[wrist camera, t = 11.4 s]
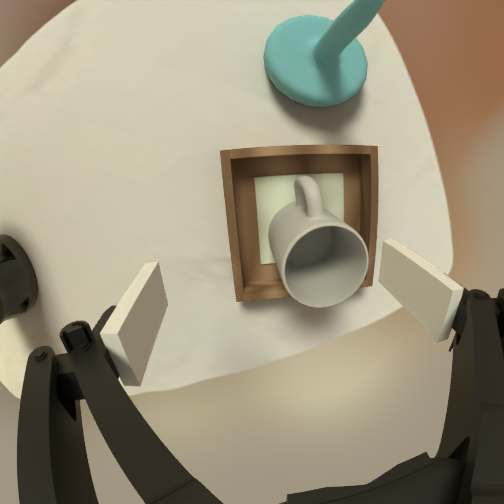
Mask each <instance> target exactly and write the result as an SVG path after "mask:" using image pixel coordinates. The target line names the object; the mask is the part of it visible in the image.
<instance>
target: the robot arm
mask: <svg viewBox="0 0 504 504" xmlns="http://www.w3.org/2000/svg"><path fill="white" fill-rule="evenodd" d="M379 282H380V283H381V284H382V285H383V286H384V287H385V288H386V289H387V290H388V291H389V292H390V293H391V294H392V295H393V296H394V297H395V298H396V299H397V300H398V301H399V302H400V303H401V305H402V306H403V307H404V308H405V309H406V310H407V311H408V312H409V313H410V314H411V315H412V316H413V317H414V318H415V319H416V320H417V321H418V322H419V323H420V325H421V326H422V327H423V328H424V329H425V330H426V331H427V332H428V333H429V334H430V335H431V337H432V338H433V339H434V340H435V341H436V342H437V343H438V342H440V341H443V340H446V339H448V337H449V334H450V332H451V329H452V328H453V329H454V330H455V331H456V333H455V336H454V339H453V341H452V344H451V346H450V349H449V351H451V349H452V348H453V361H452V374H451V384H450V393H449V400H448V406H447V413H446V418H445V424H444V429H443V433H442V438H441V443H440V446H439V450H438V452H437V454H436V456H435V458H430V457H429V456H428V454H427V452H425V453H423V454H421V455H418V456H416V457H414V458H412V459H409V460H407V461H405V462H402V463H400V464H398V465H396V466H395V467H393V468H392V469H391V470H389V471H387V472H386V473H384V474H383V475H381V476H380V477H378V478H377V479H375V480H373V481H372V482H370V483H368V484H365V485H358V486H344V487H325V488H320V489H315V490H310V491H305V492H300V493H294V494H287V501H286V502H283V503H280V504H504V288H503V289H500V290H499V293H498V296H497V298H491V297H490V296H489V295H488V294H487V293H486V292H484V291H482V290H478V289H473V290H470V291H468V290H467V289H465V288H464V287H463V286H461V285H460V284H459V283H457V282H455V281H454V280H453V279H452V278H450V277H449V276H448V275H446V274H445V273H443V272H441V271H440V270H438V269H437V268H435V267H434V266H433V265H431V264H430V263H428V262H427V261H425V260H424V259H422V258H421V257H419V256H418V255H416V254H415V253H413V252H412V251H410V250H409V249H407V248H406V247H404V246H403V245H401V244H400V243H398V242H396V241H395V240H383V247H382V257H381V267H380V275H379ZM36 299H37V282H36V277H35V273H34V270H33V267H32V265H31V263H30V261H29V259H28V257H27V255H26V253H25V252H24V250H23V249H22V247H21V246H20V245H19V244H18V243H17V242H16V241H15V240H14V239H13V238H11V237H9V236H7V235H0V324H1V323H2V322H3V321H5V320H8V319H11V318H14V317H17V316H20V315H22V314H24V313H26V312H27V311H28V310H29V309H30V308H31V307H32V306H33V305H34V304H35V302H36ZM167 306H168V302H167V298H166V294H165V289H164V285H163V281H162V276H161V272H160V267H159V262H150V263H145V265H144V266H143V268H142V269H141V271H140V272H139V273H138V275H137V276H136V278H135V279H134V281H133V282H132V284H131V285H130V287H129V288H128V290H127V291H126V293H125V294H124V296H123V297H122V299H121V300H120V302H119V303H118V305H117V306H111V307H110V308H109V309H107V310H106V311H105V312H104V313H103V315H102V316H101V319H99V321H98V322H97V324H96V325H95V327H94V328H93V330H92V331H91V328H90V326H89V324H88V323H87V322H85V321H75V322H72V323H70V324H68V325H66V326H65V327H64V328H63V329H62V330H61V332H60V338H61V340H62V342H63V344H64V346H65V348H66V350H67V352H68V353H65V354H59V355H55V353H54V351H53V349H52V348H51V347H49V346H42V347H38V348H36V349H35V350H33V352H32V353H31V354H30V355H29V357H28V361H27V366H26V371H25V376H24V382H23V388H22V395H21V402H20V412H19V421H18V437H17V477H18V491H19V501H20V504H98V500H97V497H96V493H95V489H94V486H93V482H92V477H91V473H90V468H89V463H88V458H87V453H86V448H85V442H84V435H83V427H82V418H81V409H80V400H82V399H85V400H86V402H87V404H88V406H89V409H90V411H91V413H92V415H93V417H94V419H95V421H96V424H97V425H98V427H99V430H100V431H101V433H102V435H103V437H104V439H105V441H106V443H107V445H108V446H109V448H110V450H111V452H112V454H113V455H114V457H115V459H116V460H117V462H118V463H119V465H120V467H121V468H122V470H123V472H124V473H125V475H126V476H127V478H128V479H129V481H130V482H131V484H132V485H133V487H134V488H135V489H136V491H137V492H138V494H139V495H140V496H141V498H142V499H143V500H144V502H145V504H223V503H222V502H221V501H220V500H219V499H218V498H216V497H215V496H214V495H213V494H212V493H211V492H210V491H209V490H208V489H207V488H206V487H205V486H204V485H203V484H202V483H201V482H199V481H198V480H197V479H195V478H194V477H193V476H192V475H191V474H190V473H189V472H188V471H187V470H186V469H185V468H184V467H183V466H182V465H181V463H179V461H178V460H177V459H176V458H175V457H174V456H173V455H172V453H171V452H170V451H169V450H168V448H167V447H166V446H165V445H164V444H163V443H162V441H161V440H160V439H159V437H158V436H157V435H156V434H155V432H154V431H153V430H152V429H151V427H150V426H149V425H148V423H147V422H146V421H145V419H144V418H143V417H142V415H141V414H140V412H139V411H138V410H137V408H136V407H135V405H134V404H133V402H132V401H131V399H130V398H129V396H128V395H127V393H126V392H125V390H124V389H123V387H122V385H121V384H120V382H119V381H118V378H119V376H120V378H121V380H122V382H123V384H124V385H125V386H141V383H142V380H143V376H144V373H145V370H146V367H147V364H148V361H149V358H150V355H151V352H152V349H153V346H154V343H155V340H156V337H157V334H158V331H159V328H160V325H161V323H162V320H163V317H164V314H165V311H166V309H167Z"/></svg>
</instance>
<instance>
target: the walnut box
mask: <svg viewBox="0 0 504 504" xmlns="http://www.w3.org/2000/svg"><path fill="white" fill-rule="evenodd" d="M220 156H221V166H222V177H223V187H224V197H225V206H226V216H227V225H228V234H229V243H230V252H231V261H232V269H233V277H234V286H235V294H236V302H241V301H252V300H263V299H273V298H282V297H291V295H290V294H289V293H288V292H287V290H286V288H285V287H284V284H283V282H282V279H281V276H280V273H279V270H278V267H277V264H276V261H275V258H274V255H273V252H272V250H271V247H270V244H269V238H268V231H269V226H270V223H271V221H272V219H273V217H274V216H275V214H276V213H277V212H278V211H279V210H280V209H281V208H282V207H284V206H285V205H287V204H289V203H291V202H295V201H296V198H295V190H294V182H295V180H296V178H298V177H300V176H309V177H311V178H312V179H314V180H315V181H316V183H317V184H318V186H319V189H320V192H321V196H322V202H323V207H324V208H325V209H327V210H328V211H329V212H331V213H332V214H333V215H335V216H336V217H338V218H339V219H340V220H342V221H343V222H345V223H346V224H347V225H349V226H350V227H352V228H353V229H354V230H355V231H356V232H357V233H358V234H359V235H360V236H361V237H362V239H363V241H364V242H365V245H366V247H367V251H368V258H369V262H368V270H367V273H366V276H365V278H364V280H363V282H362V284H361V285H360V287H359V288H362V287H368V286H372V283H373V274H374V264H375V253H376V240H377V222H378V146H364V145H292V146H271V147H256V148H243V149H232V150H222V151H220Z"/></svg>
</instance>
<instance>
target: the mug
mask: <svg viewBox="0 0 504 504" xmlns="http://www.w3.org/2000/svg"><path fill="white" fill-rule="evenodd" d="M294 190H295V198H296V201H295V202H291V203H289V204H287V205H285V206H284V207H282V208H281V209H280V210H279V211H278V212H277V213H276V214H275V216H274V217H273V219H272V221H271V223H270V226H269V231H268V238H269V244H270V247H271V250H272V252H273V255H274V258H275V261H276V264H277V267H278V270H279V273H280V276H281V279H282V282H283V284H284V287H285V288H286V290H287V292H288V293H289V294H290V295H291V296H292V297H293V298H294V299H295V300H296V301H298V302H299V303H301V304H303V305H306V306H309V307H314V308H325V307H330V306H334V305H337V304H339V303H341V302H343V301H345V300H346V299H348V298H349V297H350V296H351V295H353V294H354V293H355V292H356V291H357V289H358V288H359V287H360V285H361V284H362V282H363V280H364V278H365V276H366V273H367V270H368V262H369V258H368V251H367V247H366V245H365V242H364V241H363V239H362V237H361V236H360V235H359V234H358V233H357V232H356V231H355V230H354V229H353V228H352V227H350V226H349V225H347V224H346V223H345V222H343V221H342V220H340V219H339V218H338V217H336V216H335V215H333V214H332V213H331V212H329V211H328V210H327V209H325V208H324V207H323V202H322V196H321V192H320V189H319V186H318V184H317V183H316V181H315V180H314V179H312V178H311V177H309V176H300V177H298V178H296V180H295V182H294Z"/></svg>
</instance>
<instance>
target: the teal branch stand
mask: <svg viewBox="0 0 504 504" xmlns="http://www.w3.org/2000/svg"><path fill="white" fill-rule="evenodd" d="M384 1H385V0H354V1H353V2H352V3H351V4H350V5H349V6H348V7H347V8H346V9H345V10H344V11H343V12H342V13H341V14H340V15H339V16H338V17H337V18H336V19H335V20H334V21H333V20H330V19H328V18H326V17H319V16H312V15H305V16H299V17H293V18H290V19H288V20H286V21H284V22H282V23H281V24H279V25H277V26H276V28H275V29H274V30H273V32H272V33H271V35H270V36H269V37H268V39H267V41H266V46H265V52H264V63H265V67H266V71H267V75H268V76H269V78H270V79H271V81H272V82H273V84H274V85H275V87H276V88H277V89H278V90H279V91H280V92H282V93H283V94H284V95H286V96H287V97H288V98H289V99H291V100H293V101H296V102H298V103H301V104H303V105H306V106H314V107H328V106H332V105H336V104H340V103H344V102H345V101H347V100H348V99H350V98H351V97H352V96H354V95H355V94H356V93H358V92H359V91H360V89H361V87H362V86H363V84H364V82H365V80H366V76H367V65H368V64H367V59H366V56H365V52H364V49H363V47H362V46H361V44H360V43H359V41H358V40H357V38H356V37H357V36H358V35H359V34H360V33H361V32H362V31H363V30H364V29H365V28H366V27H367V26H368V25H369V23H370V22H371V21H372V20H373V18H374V17H375V15H376V14H377V12H378V11H379V9H380V7H381V6H382V4H383V2H384Z"/></svg>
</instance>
